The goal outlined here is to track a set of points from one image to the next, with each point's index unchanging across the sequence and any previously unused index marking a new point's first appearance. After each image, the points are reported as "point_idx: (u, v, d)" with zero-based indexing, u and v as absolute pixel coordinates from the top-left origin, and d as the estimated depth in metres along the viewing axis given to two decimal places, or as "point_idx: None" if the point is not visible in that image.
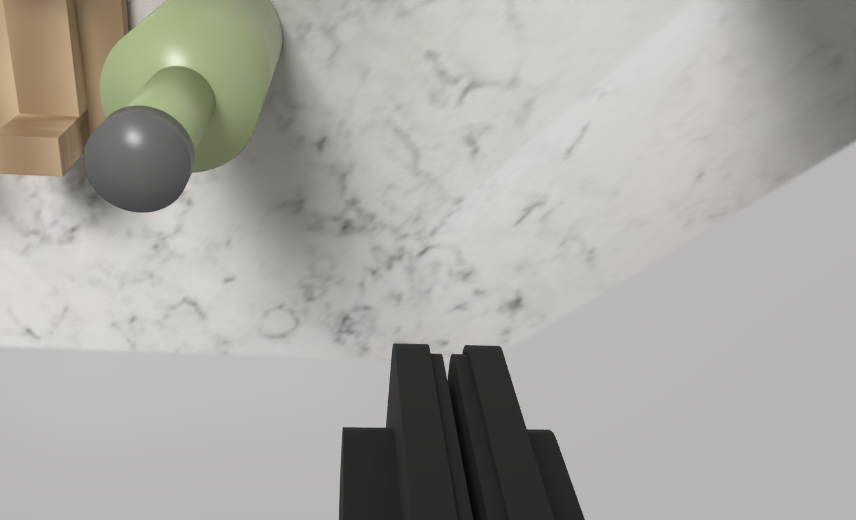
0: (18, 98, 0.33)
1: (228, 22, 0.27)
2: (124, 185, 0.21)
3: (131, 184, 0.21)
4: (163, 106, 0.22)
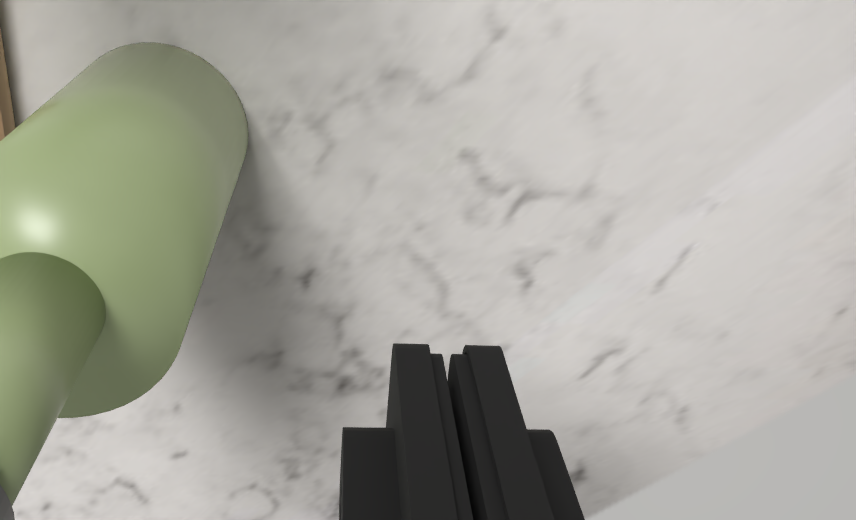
0: None
1: (135, 157, 0.15)
2: None
3: None
4: None
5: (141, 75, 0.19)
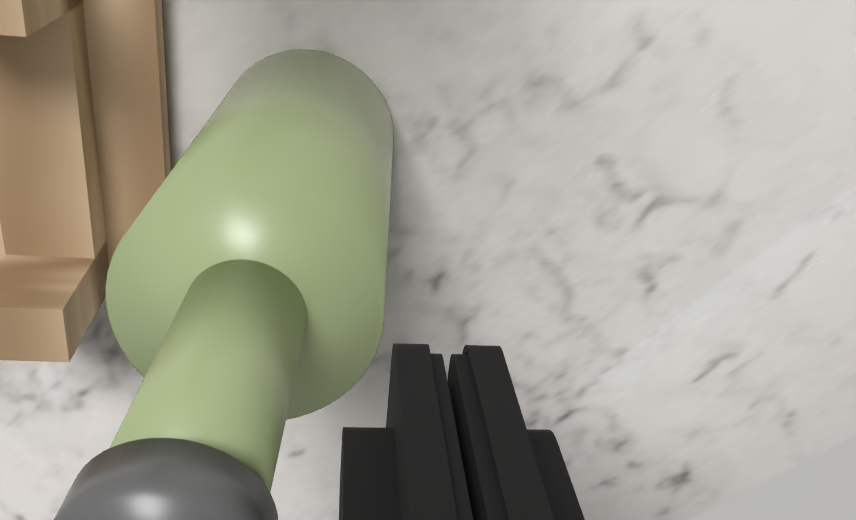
0: (4, 234, 0.22)
1: (331, 167, 0.16)
2: None
3: None
4: (215, 413, 0.10)
5: (311, 84, 0.19)
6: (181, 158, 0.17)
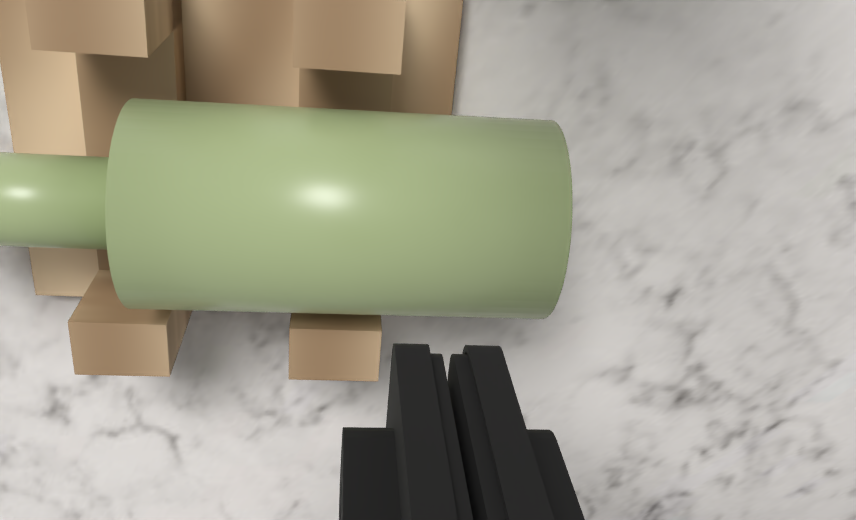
0: None
1: (212, 145, 0.17)
2: None
3: None
4: None
5: (422, 126, 0.18)
6: None
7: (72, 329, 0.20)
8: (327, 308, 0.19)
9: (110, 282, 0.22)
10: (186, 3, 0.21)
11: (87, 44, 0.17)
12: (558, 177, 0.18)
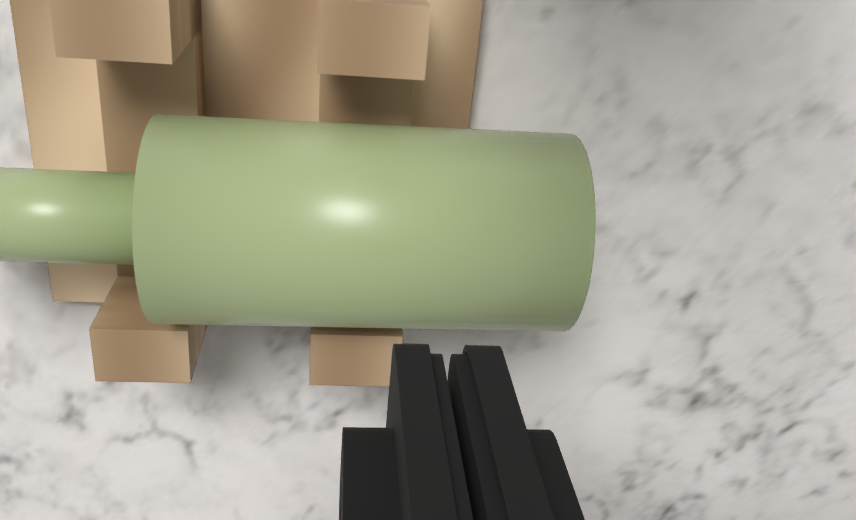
0: None
1: (236, 171, 0.17)
2: None
3: None
4: None
5: (446, 147, 0.18)
6: None
7: (93, 336, 0.20)
8: (350, 325, 0.19)
9: (129, 288, 0.22)
10: (206, 9, 0.21)
11: (112, 51, 0.17)
12: (581, 201, 0.18)
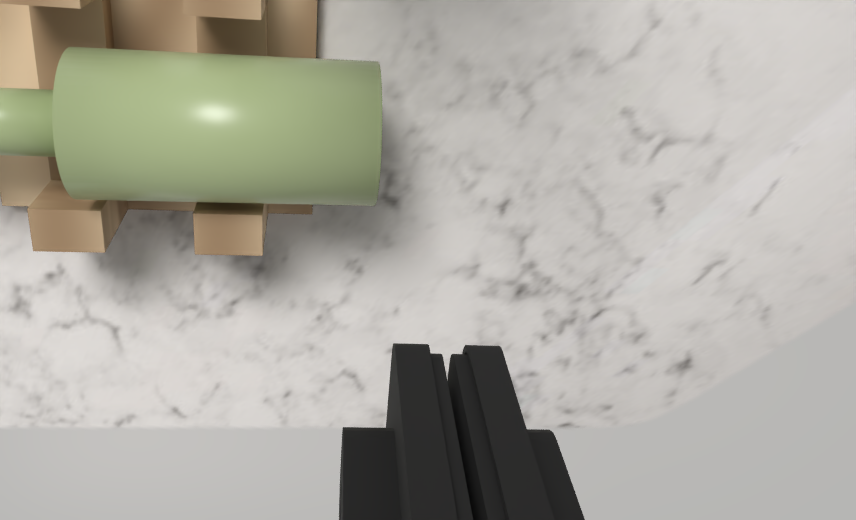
0: None
1: (126, 79, 0.25)
2: None
3: None
4: None
5: (278, 66, 0.26)
6: None
7: (30, 214, 0.28)
8: (215, 196, 0.27)
9: (59, 187, 0.29)
10: None
11: None
12: (372, 101, 0.26)
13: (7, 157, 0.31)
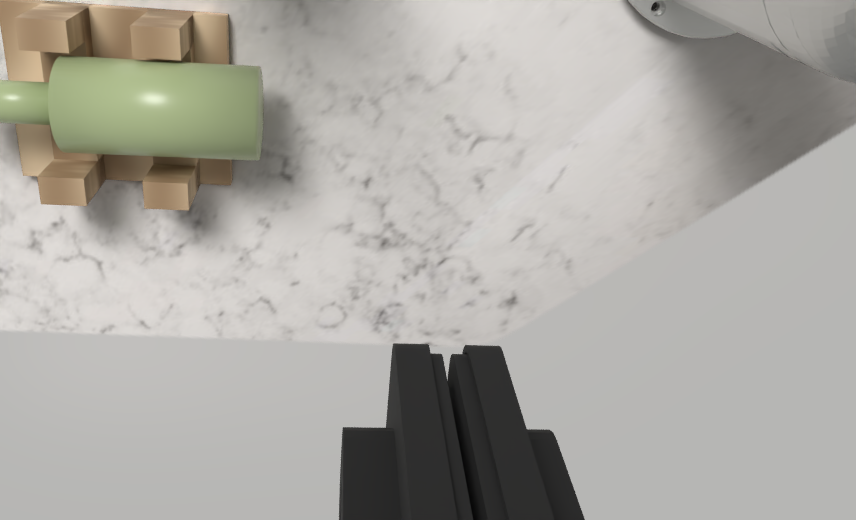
0: None
1: (98, 63, 0.41)
2: None
3: None
4: None
5: (194, 63, 0.42)
6: None
7: (39, 180, 0.43)
8: (148, 139, 0.41)
9: (59, 163, 0.45)
10: (93, 28, 0.44)
11: (42, 48, 0.40)
12: (250, 76, 0.41)
13: (26, 143, 0.46)
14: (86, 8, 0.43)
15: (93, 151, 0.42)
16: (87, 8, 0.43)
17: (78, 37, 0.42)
